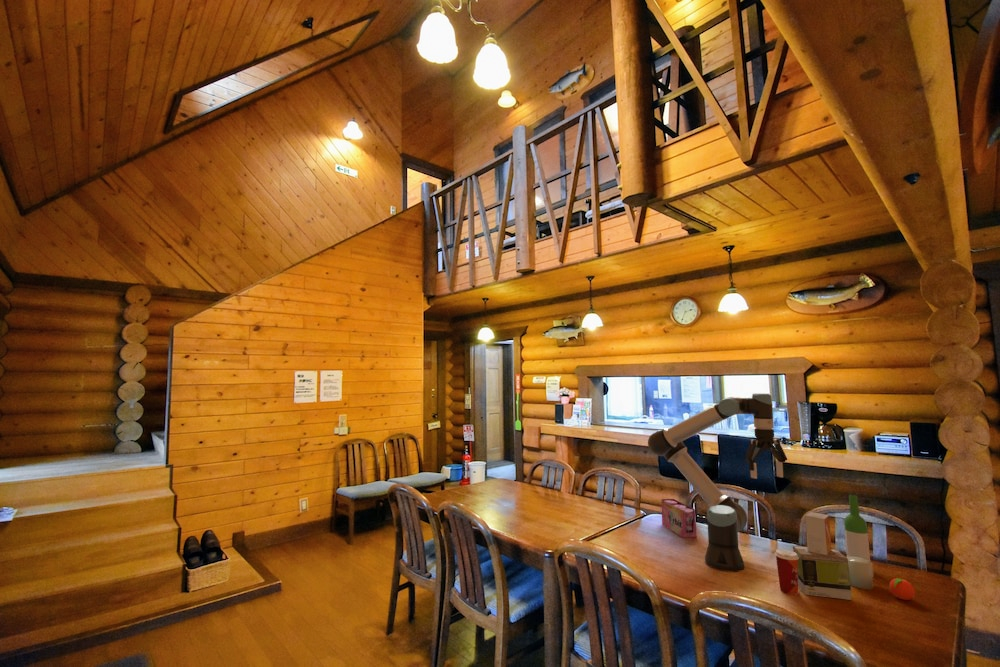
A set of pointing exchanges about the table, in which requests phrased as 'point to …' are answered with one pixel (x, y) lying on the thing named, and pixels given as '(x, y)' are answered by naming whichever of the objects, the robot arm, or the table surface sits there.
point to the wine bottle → (856, 532)
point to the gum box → (678, 517)
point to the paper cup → (787, 571)
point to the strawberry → (902, 589)
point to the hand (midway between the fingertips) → (767, 477)
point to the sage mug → (860, 572)
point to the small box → (818, 533)
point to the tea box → (823, 574)
